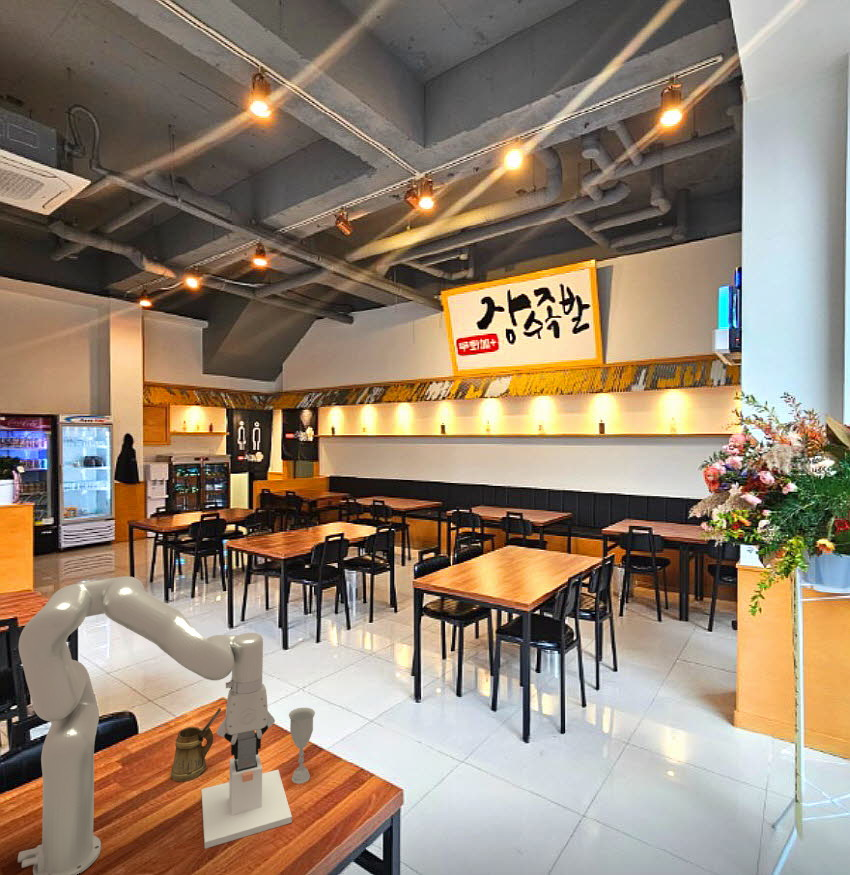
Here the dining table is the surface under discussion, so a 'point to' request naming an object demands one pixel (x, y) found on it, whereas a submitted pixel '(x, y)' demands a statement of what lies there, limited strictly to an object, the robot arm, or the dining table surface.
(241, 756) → the column
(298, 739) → the chalice
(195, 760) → the wooden mug
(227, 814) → the stand
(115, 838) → the dining table surface
